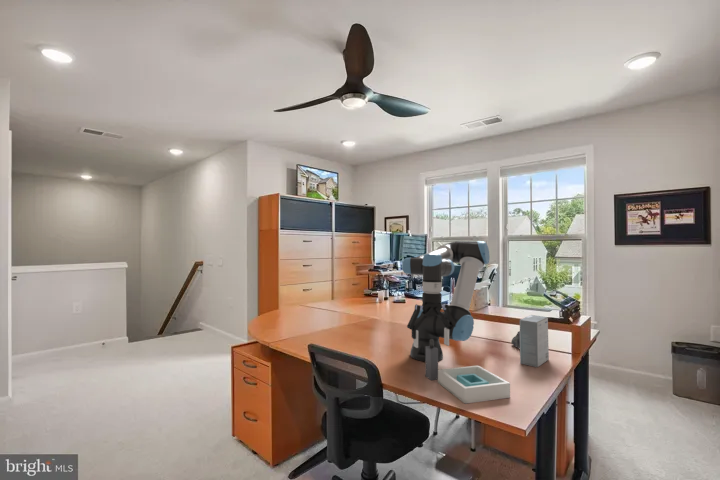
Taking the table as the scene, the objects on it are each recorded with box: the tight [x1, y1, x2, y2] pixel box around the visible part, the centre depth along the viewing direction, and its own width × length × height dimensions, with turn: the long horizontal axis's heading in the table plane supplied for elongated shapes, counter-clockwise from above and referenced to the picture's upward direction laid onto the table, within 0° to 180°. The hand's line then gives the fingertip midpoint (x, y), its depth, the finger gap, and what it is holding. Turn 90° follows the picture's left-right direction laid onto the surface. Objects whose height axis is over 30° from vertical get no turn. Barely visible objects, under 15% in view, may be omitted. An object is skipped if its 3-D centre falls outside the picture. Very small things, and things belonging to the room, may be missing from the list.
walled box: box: [437, 365, 511, 404], centre depth 123 cm, size 18×18×5 cm
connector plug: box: [425, 339, 439, 381], centre depth 134 cm, size 4×3×15 cm
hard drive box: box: [519, 314, 550, 368], centre depth 154 cm, size 16×8×20 cm, turn 134°
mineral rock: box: [510, 330, 520, 350], centre depth 175 cm, size 13×11×10 cm
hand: (431, 345), depth 134 cm, fingers open, 13 cm apart
